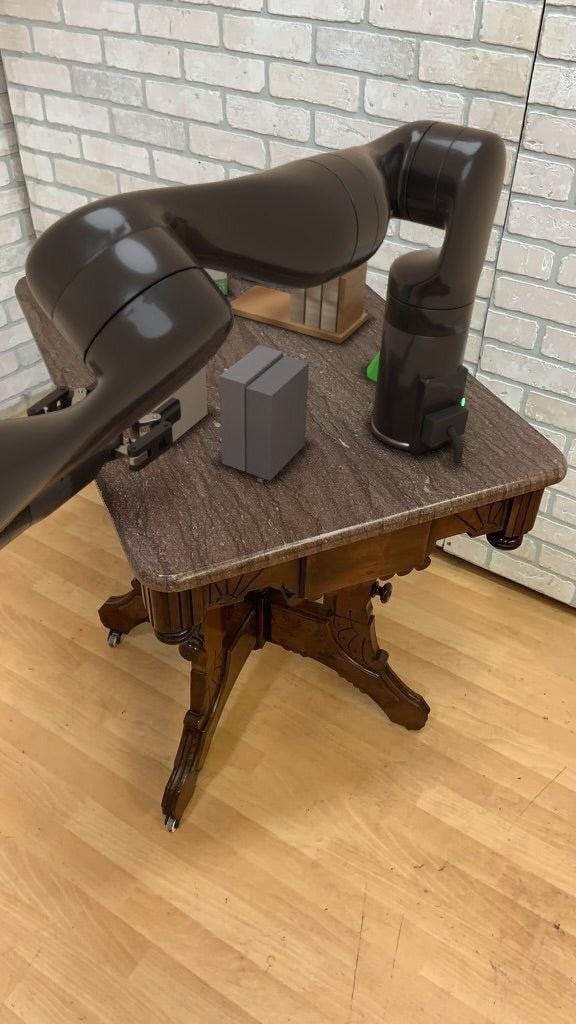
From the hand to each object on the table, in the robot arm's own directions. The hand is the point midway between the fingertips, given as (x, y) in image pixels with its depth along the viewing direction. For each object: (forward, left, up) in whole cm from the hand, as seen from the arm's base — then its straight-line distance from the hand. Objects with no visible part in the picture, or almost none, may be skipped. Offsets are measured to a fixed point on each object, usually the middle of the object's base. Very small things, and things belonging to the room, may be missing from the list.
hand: (144, 394), depth 84 cm
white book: (+3, -6, -8) cm, 10 cm away
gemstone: (+1, -35, -8) cm, 35 cm away
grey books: (-7, -11, -8) cm, 15 cm away
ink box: (+37, -27, -8) cm, 46 cm away
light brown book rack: (+22, -33, -8) cm, 40 cm away
